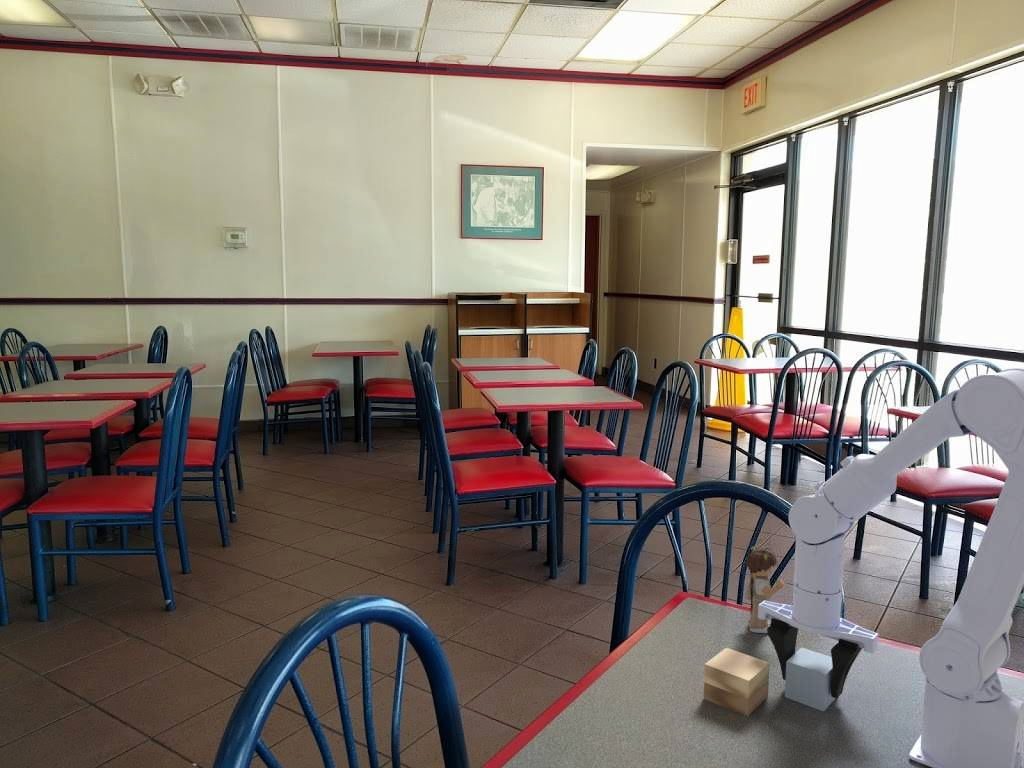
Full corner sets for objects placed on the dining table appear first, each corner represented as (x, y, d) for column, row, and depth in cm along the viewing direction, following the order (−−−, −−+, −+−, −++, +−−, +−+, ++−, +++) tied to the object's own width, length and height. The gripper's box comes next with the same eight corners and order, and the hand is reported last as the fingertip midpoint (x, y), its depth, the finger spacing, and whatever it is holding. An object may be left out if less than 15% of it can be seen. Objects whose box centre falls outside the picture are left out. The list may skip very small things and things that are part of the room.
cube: (837, 696, 97) (840, 659, 96) (823, 712, 93) (826, 674, 93) (799, 682, 100) (801, 647, 100) (784, 697, 96) (786, 661, 96)
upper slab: (768, 681, 96) (769, 662, 96) (748, 699, 92) (749, 680, 92) (725, 665, 100) (726, 647, 100) (703, 682, 96) (704, 664, 96)
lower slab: (767, 699, 97) (768, 681, 96) (747, 719, 92) (748, 700, 92) (724, 683, 101) (725, 665, 100) (703, 701, 96) (704, 683, 96)
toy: (782, 639, 112) (787, 544, 110) (745, 636, 113) (749, 542, 111) (776, 621, 118) (781, 531, 116) (740, 618, 119) (744, 529, 117)
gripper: (888, 591, 93) (881, 693, 95) (775, 562, 102) (770, 655, 104) (870, 609, 88) (863, 717, 89) (752, 577, 97) (748, 675, 99)
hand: (811, 685), depth 96 cm, fingers open, 6 cm apart
